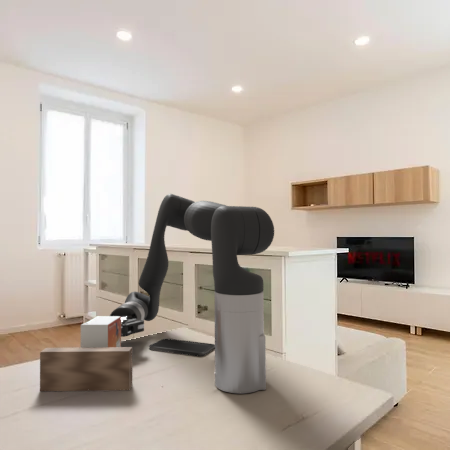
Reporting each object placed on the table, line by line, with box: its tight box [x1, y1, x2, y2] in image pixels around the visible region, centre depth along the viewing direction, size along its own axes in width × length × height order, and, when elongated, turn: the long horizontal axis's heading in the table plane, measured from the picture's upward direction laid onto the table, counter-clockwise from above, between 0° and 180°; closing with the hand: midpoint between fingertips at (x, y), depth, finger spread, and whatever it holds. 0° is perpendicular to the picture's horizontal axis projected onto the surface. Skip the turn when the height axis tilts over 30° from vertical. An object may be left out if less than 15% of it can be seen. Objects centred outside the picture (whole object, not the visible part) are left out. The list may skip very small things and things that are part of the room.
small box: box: [80, 315, 122, 348], centre depth 76 cm, size 8×6×10 cm
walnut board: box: [39, 346, 133, 392], centre depth 68 cm, size 16×2×7 cm, turn 91°
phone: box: [148, 338, 215, 357], centre depth 91 cm, size 8×1×15 cm
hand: (106, 335), depth 80 cm, fingers closed
